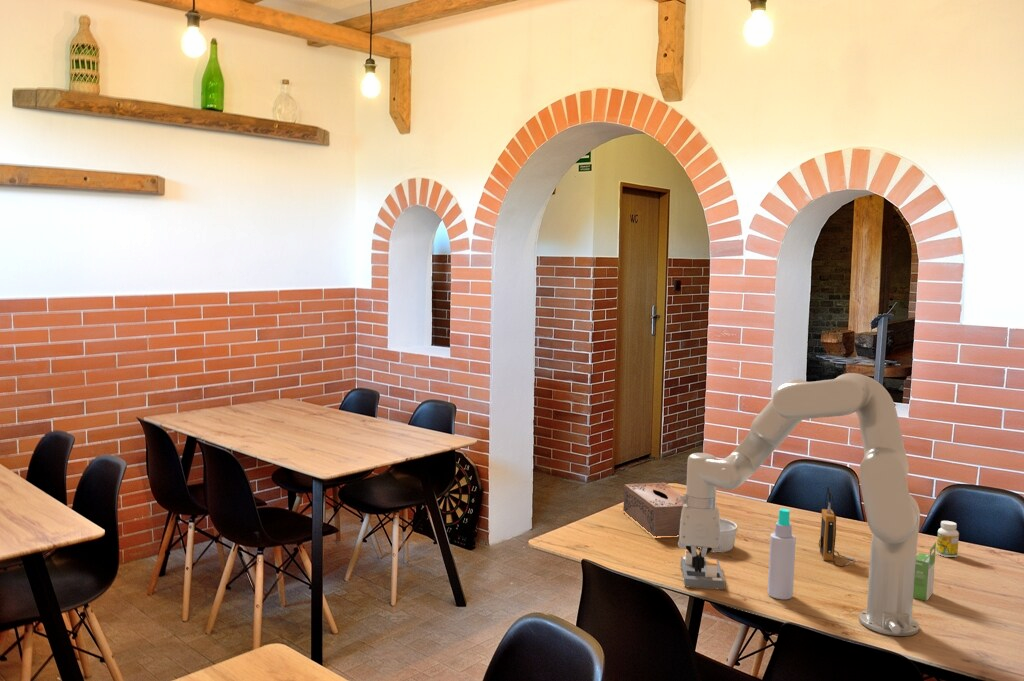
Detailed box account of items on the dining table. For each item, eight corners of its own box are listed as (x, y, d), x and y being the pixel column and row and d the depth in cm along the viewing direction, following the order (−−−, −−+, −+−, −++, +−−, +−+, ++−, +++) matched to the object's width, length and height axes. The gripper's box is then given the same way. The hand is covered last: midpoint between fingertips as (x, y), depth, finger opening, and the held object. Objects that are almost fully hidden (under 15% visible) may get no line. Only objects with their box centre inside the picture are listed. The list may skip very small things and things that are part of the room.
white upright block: (716, 582, 211) (717, 563, 210) (706, 582, 211) (706, 562, 211) (715, 578, 214) (716, 559, 213) (705, 577, 214) (705, 559, 213)
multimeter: (864, 569, 225) (868, 498, 223) (825, 565, 227) (829, 495, 225) (852, 551, 239) (857, 484, 237) (817, 548, 241) (820, 481, 239)
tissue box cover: (623, 513, 271) (624, 484, 270) (663, 511, 275) (664, 482, 274) (654, 539, 246) (655, 507, 245) (698, 536, 250) (699, 505, 249)
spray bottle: (782, 602, 201) (787, 515, 199) (762, 594, 206) (766, 508, 204) (797, 596, 205) (802, 511, 203) (777, 588, 209) (781, 505, 207)
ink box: (916, 589, 211) (920, 538, 210) (933, 593, 209) (937, 542, 207) (909, 597, 206) (913, 545, 204) (926, 601, 203) (930, 549, 202)
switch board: (724, 589, 208) (724, 581, 208) (684, 586, 209) (684, 578, 209) (717, 567, 224) (718, 558, 224) (680, 564, 225) (680, 556, 225)
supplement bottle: (961, 557, 235) (963, 524, 235) (946, 558, 234) (949, 526, 233) (946, 551, 241) (948, 519, 240) (932, 552, 239) (934, 520, 238)
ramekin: (689, 551, 236) (690, 528, 235) (690, 537, 248) (691, 515, 248) (737, 556, 233) (738, 532, 232) (735, 541, 245) (736, 519, 245)
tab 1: (695, 570, 219) (696, 551, 219) (685, 569, 220) (686, 551, 219) (694, 566, 222) (695, 548, 222) (684, 565, 222) (685, 547, 222)
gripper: (672, 503, 208) (669, 573, 210) (732, 507, 206) (728, 577, 208) (670, 495, 216) (667, 563, 217) (728, 499, 214) (725, 567, 215)
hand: (697, 570), depth 213 cm, fingers closed
